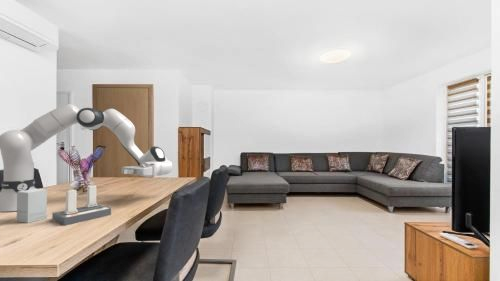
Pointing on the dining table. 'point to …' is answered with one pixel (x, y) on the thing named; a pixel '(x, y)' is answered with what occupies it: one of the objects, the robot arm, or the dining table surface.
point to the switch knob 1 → (71, 202)
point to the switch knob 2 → (91, 196)
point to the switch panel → (81, 214)
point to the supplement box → (31, 205)
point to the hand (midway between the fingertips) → (122, 172)
